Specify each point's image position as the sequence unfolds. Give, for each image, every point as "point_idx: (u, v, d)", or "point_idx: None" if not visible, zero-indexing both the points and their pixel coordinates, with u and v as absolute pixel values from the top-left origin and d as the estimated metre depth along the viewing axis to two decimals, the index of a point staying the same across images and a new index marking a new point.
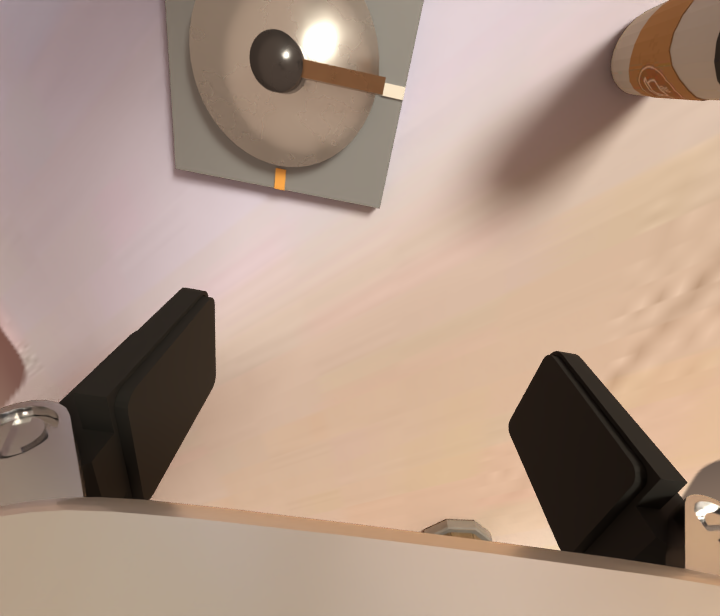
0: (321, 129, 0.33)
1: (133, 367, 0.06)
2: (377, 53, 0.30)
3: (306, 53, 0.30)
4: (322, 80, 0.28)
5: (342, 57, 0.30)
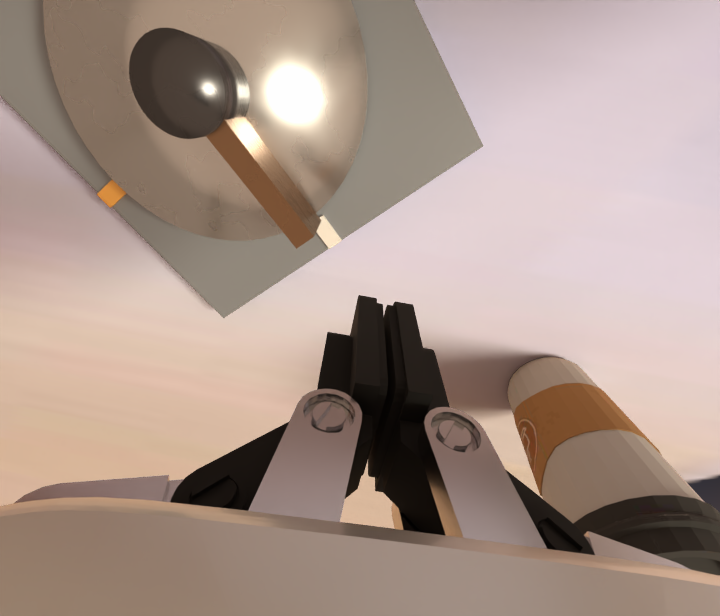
0: (206, 197, 0.21)
1: (379, 363, 0.08)
2: (334, 189, 0.20)
3: (251, 105, 0.18)
4: (233, 167, 0.17)
5: (292, 154, 0.19)
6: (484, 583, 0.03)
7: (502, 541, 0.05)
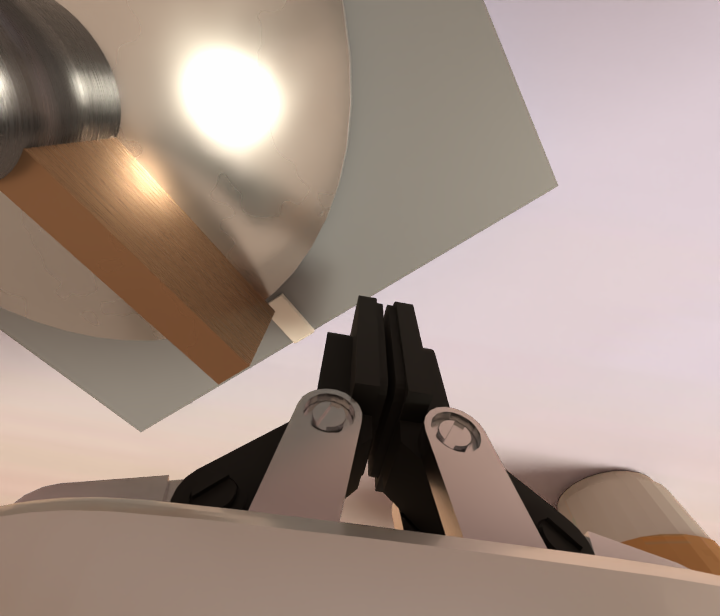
0: (70, 275, 0.12)
1: (378, 363, 0.08)
2: (295, 263, 0.11)
3: (124, 114, 0.09)
4: (67, 246, 0.08)
5: (214, 204, 0.11)
6: (484, 583, 0.03)
7: (502, 541, 0.05)
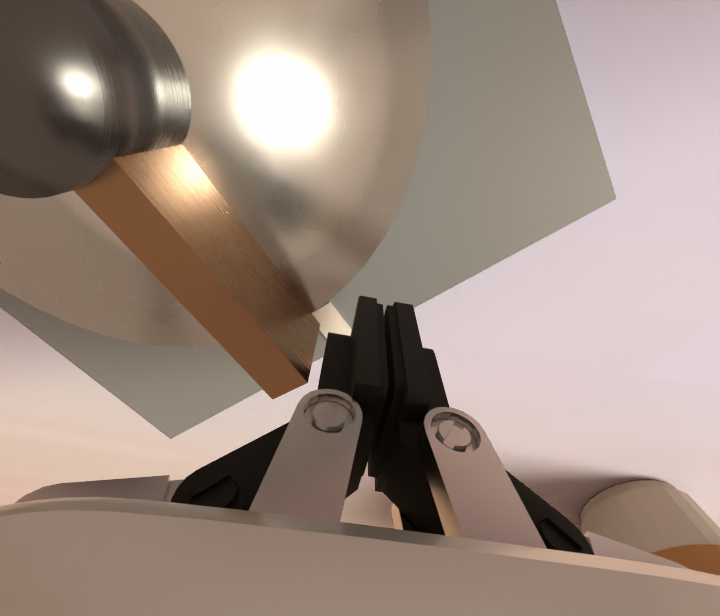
0: (114, 278, 0.12)
1: (379, 363, 0.08)
2: (347, 278, 0.11)
3: (194, 123, 0.09)
4: (140, 256, 0.08)
5: (273, 216, 0.10)
6: (484, 583, 0.03)
7: (502, 541, 0.05)
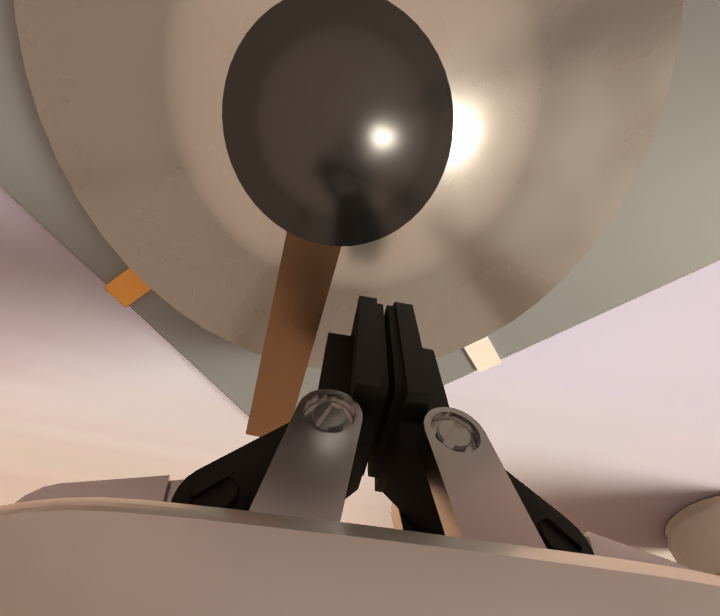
0: (175, 215, 0.10)
1: (379, 363, 0.08)
2: None
3: None
4: (277, 293, 0.08)
5: (353, 297, 0.12)
6: (484, 583, 0.03)
7: (503, 541, 0.05)
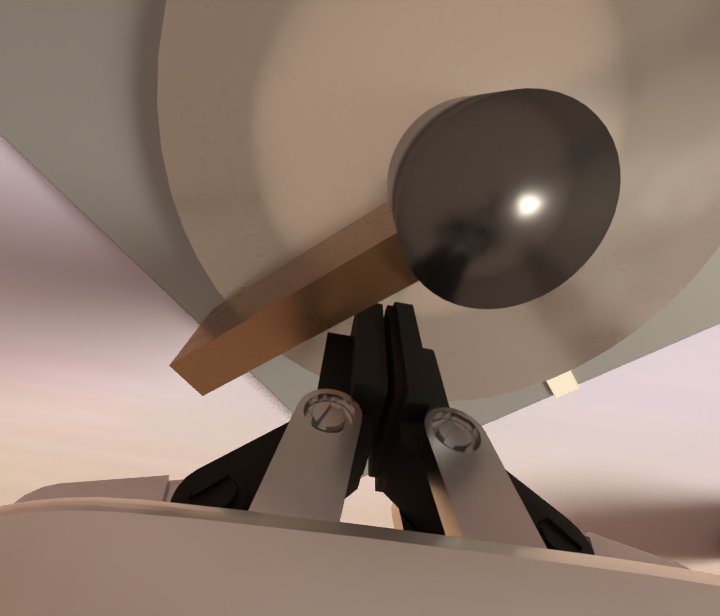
0: (257, 112, 0.09)
1: (379, 363, 0.08)
2: (291, 357, 0.13)
3: None
4: (330, 275, 0.08)
5: None
6: (484, 583, 0.03)
7: (502, 541, 0.05)
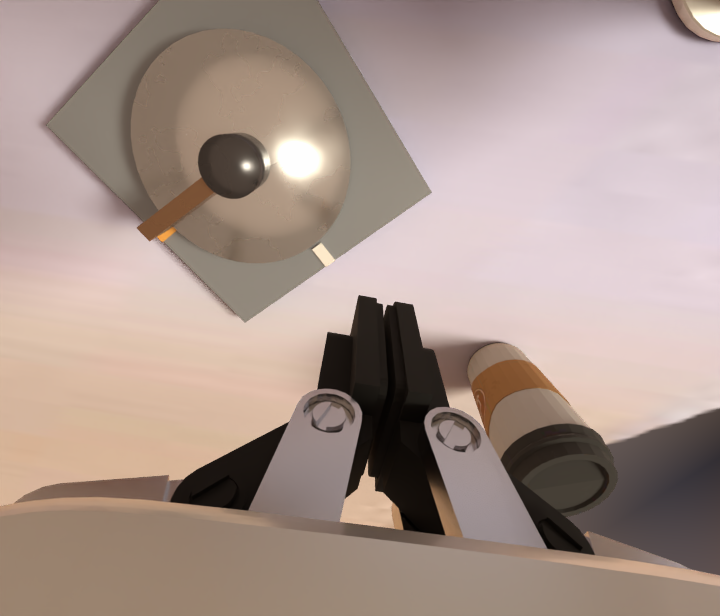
0: (165, 139, 0.26)
1: (379, 363, 0.08)
2: (192, 241, 0.29)
3: None
4: (186, 190, 0.25)
5: (211, 214, 0.28)
6: (484, 583, 0.03)
7: (502, 541, 0.05)
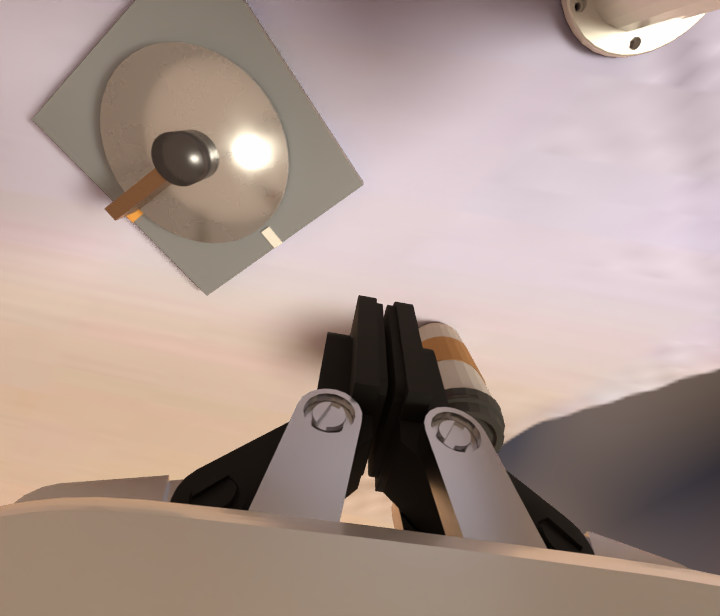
0: (129, 133, 0.30)
1: (379, 363, 0.08)
2: (156, 222, 0.34)
3: None
4: (144, 178, 0.29)
5: (170, 199, 0.33)
6: (484, 583, 0.03)
7: (502, 541, 0.05)
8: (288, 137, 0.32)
